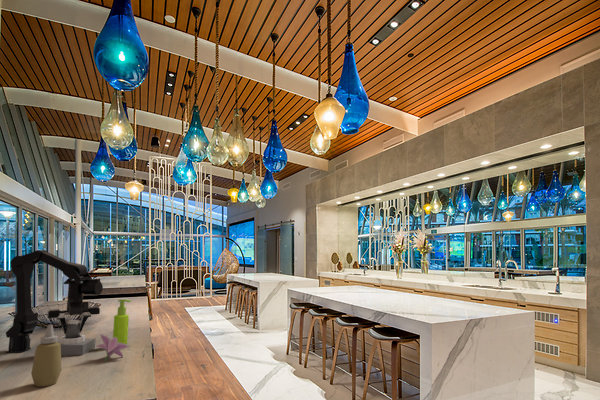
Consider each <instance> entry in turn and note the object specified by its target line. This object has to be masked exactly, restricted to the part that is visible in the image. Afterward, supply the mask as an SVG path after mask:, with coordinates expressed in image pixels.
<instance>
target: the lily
mask: <svg viewBox="0 0 600 400" xmlns="http://www.w3.org/2000/svg"><path fill="white" fill-rule="evenodd" d="M99 337H100V339H101V340H102V343H99V344H97V345H95V348H100V349H103V350H105V352H106V357H105V359H104V363H106V361H107V358H108V357H111V356H113V355H114V354H116V355H117V356H119V357H121V358H124V355H123V352H122V351H123V350H125V349H128V348H130V345H129V344H128V343H127V344H124V343H118V340H117V337H114V338H113V337H112V338H110V337H108V336H107V335H104V334H102V333H99Z"/></svg>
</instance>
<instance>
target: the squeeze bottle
mask: <svg viewBox="0 0 600 400" xmlns="http://www.w3.org/2000/svg"><path fill="white" fill-rule="evenodd" d="M54 331H55V330H54V326H53V324H48V325H47V327H46V330H45V334H44V336H41V337H40V343H39V344H38V345H37V346H36V348H35V353H34V358H33V362H32V369H31V374H30V375H31V378H32V381H33V384H34V386H35V387H48V386H52V385H54V384H56V383H57V382H58V380H59V378H60V376H61V373H62V356H61V344H60V343H58V342H57V341H58V339H59V338H58V337H59V336H58V335H55V332H54Z"/></svg>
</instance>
